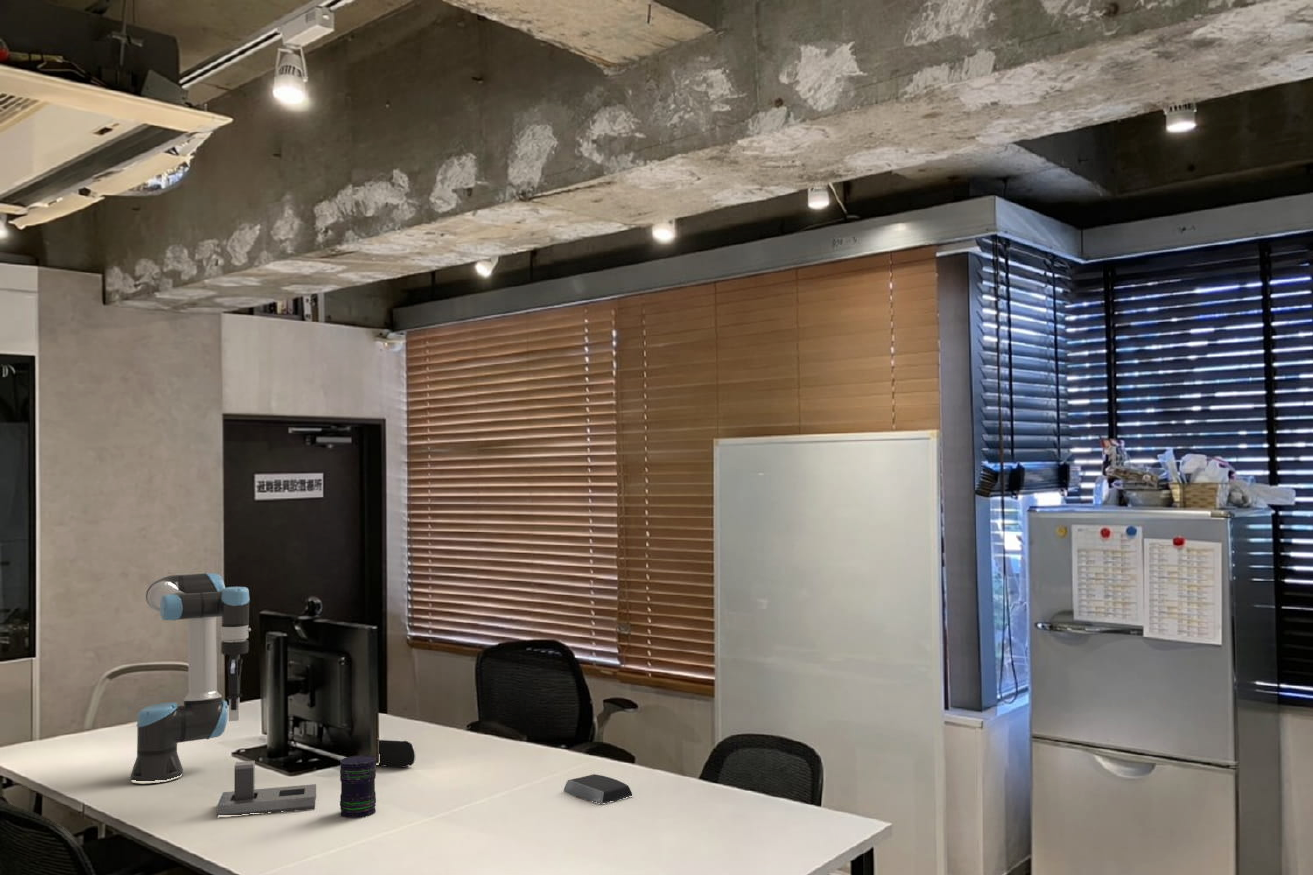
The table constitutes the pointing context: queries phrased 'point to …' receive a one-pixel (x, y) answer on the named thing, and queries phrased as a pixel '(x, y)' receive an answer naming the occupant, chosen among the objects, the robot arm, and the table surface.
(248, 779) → the plug
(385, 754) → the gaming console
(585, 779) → the external hard drive
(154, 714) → the robot arm
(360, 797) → the storage jar
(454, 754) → the table surface
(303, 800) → the socket board
